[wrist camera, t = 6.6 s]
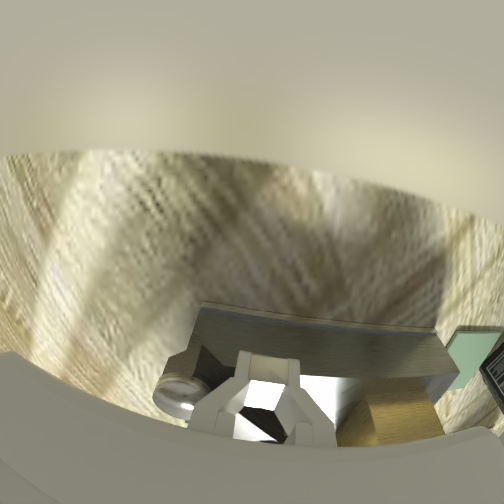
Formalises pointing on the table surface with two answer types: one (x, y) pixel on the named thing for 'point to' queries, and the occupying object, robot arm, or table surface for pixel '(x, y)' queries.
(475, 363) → the mat
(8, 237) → the table surface
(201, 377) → the lever
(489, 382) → the small box
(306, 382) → the body
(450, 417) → the table surface
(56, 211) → the table surface
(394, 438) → the wooden cube with knob
